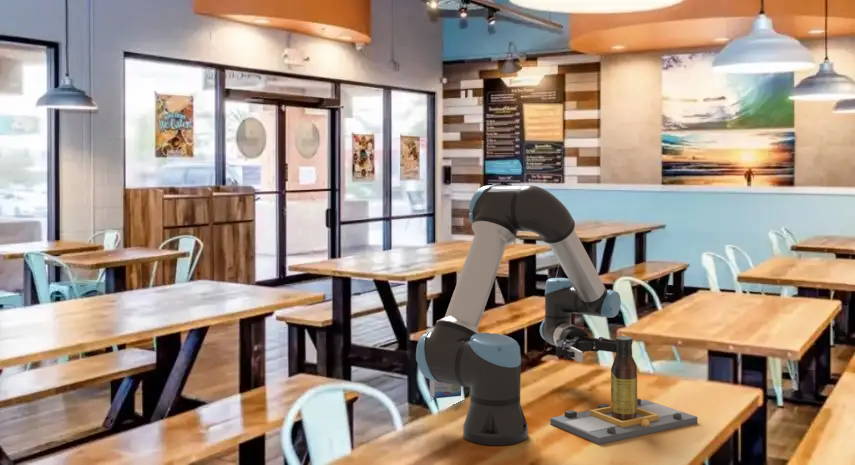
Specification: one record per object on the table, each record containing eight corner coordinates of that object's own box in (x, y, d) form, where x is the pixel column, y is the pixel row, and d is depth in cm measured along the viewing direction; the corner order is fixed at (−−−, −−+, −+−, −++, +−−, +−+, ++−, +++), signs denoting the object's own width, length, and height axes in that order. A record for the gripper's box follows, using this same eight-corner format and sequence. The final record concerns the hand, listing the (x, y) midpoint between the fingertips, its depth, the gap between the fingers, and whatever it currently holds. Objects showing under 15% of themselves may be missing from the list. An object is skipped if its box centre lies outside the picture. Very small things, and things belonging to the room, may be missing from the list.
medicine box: (433, 398, 239) (433, 367, 238) (429, 394, 243) (429, 363, 243) (461, 396, 241) (461, 365, 240) (456, 392, 245) (456, 361, 245)
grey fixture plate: (599, 444, 200) (599, 431, 200) (550, 423, 216) (550, 412, 216) (697, 422, 216) (697, 411, 215) (644, 405, 231) (645, 394, 231)
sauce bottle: (618, 412, 220) (619, 333, 218) (641, 416, 216) (642, 336, 214) (605, 418, 215) (606, 337, 213) (629, 422, 211) (630, 340, 209)
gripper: (612, 350, 248) (650, 367, 228) (529, 355, 242) (560, 373, 221) (613, 323, 248) (650, 338, 227) (529, 328, 241) (560, 343, 221)
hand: (606, 355), depth 224 cm, fingers open, 13 cm apart
